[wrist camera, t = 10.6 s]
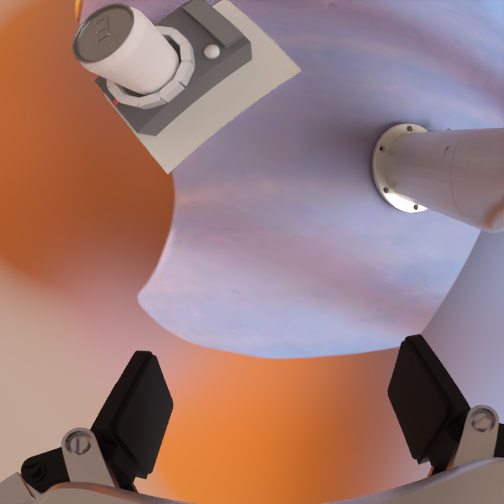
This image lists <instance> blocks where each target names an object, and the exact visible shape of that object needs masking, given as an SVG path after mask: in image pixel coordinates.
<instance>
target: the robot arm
mask: <svg viewBox="0 0 504 504" xmlns="http://www.w3.org/2000/svg"><path fill="white" fill-rule="evenodd" d="M407 128H408V130H407ZM380 147H381V151H380ZM372 173H373V179H374V182H375V184H376V187H377V189H378V191H379V193H380V194H381V196H382V197H383V198H384V199H385V201H386V202H388V203H389V204H390V205H391V206H393V207H395V208H396V209H398V210H401V211H403V212H409V213H417V212H421V211H424V210H426V209H430V210H433V211H436V212H438V213H441V214H444V215H446V216H449V217H451V218H454V219H456V220H459V221H461V222H464V223H466V224H468V225H471V226H473V227H476V228H478V229H481V230H483V231H487V232H501V231H504V128H490V129H464V130H451V129H447V130H446V131H434V132H429V131H428V130H426V129H425V128H423V127H421V126H419V125H416V124H412V123H403V124H398V125H395V126H392V127H390V128H389V129H387V130H386V131H385V132H384V133H383V134H382V135H381V136H380V138H379V139H378V141H377V143H376V145H375V148H374V151H373V156H372ZM384 188H385V190H384V191H383V189H384ZM413 206H414V207H413ZM388 397H389V399H390V401H391V404H392V406H393V409H394V411H395V413H396V416H397V419H398V421H399V424H400V426H401V428H402V431H403V433H404V436H405V439H406V442H407V444H408V447H409V450H410V452H411V455H412V457H413V458H414V459H417V462H418V464H422V463H425V462H427V461H430V463H431V466H432V467H431V469H430V471H429V474H428V476H427V478H425V479H422V480H419V481H416V482H413V483H410V484H407V485H403V486H400V487H397V488H394V489H390V490H387V491H383V492H379V493H375V494H371V495H367V496H362V497H358V498H353V499H348V500H342V501H336V502H329V503H323V504H504V424H501V423H499V418H498V415H497V413H496V411H495V410H494V409H492V408H491V407H489V406H486V405H478V406H475V407H474V408H472V409H471V408H470V406H469V404H468V403H467V401H466V399H465V398H464V396H463V395H462V393H461V392H460V390H459V388H458V387H457V385H456V384H455V383H454V381H453V379H452V378H451V377H450V375H449V373H448V372H447V370H446V369H445V368H444V366H443V365H442V363H441V362H440V360H439V359H438V357H437V356H436V355H435V353H434V352H433V351H432V349H431V348H430V346H429V345H428V343H427V342H426V341H425V339H424V338H423V337H422V336H421V335H420V334H418V335H413V336H408V337H406V338H405V341H402V343H401V346H400V350H399V353H398V357H397V361H396V364H395V368H394V371H393V374H392V378H391V381H390V384H389V387H388ZM172 409H173V400H172V398H171V395H170V392H169V390H168V387H167V384H166V382H165V380H164V377H163V374H162V371H161V368H160V365H159V362H158V360H157V357H156V356H155V355H153V354H152V353H151V352H150V351H136V352H135V353H134V355H133V356H132V358H131V360H130V361H129V363H128V365H127V366H126V368H125V370H124V372H123V373H122V375H121V377H120V378H119V380H118V382H117V383H116V384H115V386H114V388H113V389H112V391H111V393H110V395H109V396H108V398H107V400H106V402H105V404H104V405H103V407H102V409H101V411H100V412H99V414H98V416H97V418H96V420H95V422H94V423H93V425H92V427H91V429H90V430H88V429H86V428H75V429H72V430H70V431H69V432H67V433H66V434H65V436H64V437H63V440H62V442H61V444H62V447H60V448H57V449H54V450H51V451H48V452H45V453H42V454H39V455H36V456H33V457H30V458H28V459H27V460H26V461H24V463H23V465H22V468H21V473H20V474H19V473H18V472H16V473H14V474H13V475H12V476H10V477H8V478H7V479H5V480H4V481H2V482H1V483H0V504H194V503H187V502H181V501H174V500H169V499H164V498H158V497H153V496H148V495H144V494H140V493H138V491H137V489H136V487H135V485H134V483H133V482H134V479H135V477H139V478H143V479H146V478H147V475H148V474H150V473H151V472H152V471H153V468H154V465H155V462H156V459H157V456H158V452H159V449H160V446H161V443H162V440H163V437H164V434H165V431H166V428H167V425H168V421H169V419H170V416H171V413H172Z"/></svg>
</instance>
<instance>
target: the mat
mask: <svg viewBox="0 0 504 504" xmlns="http://www.w3.org/2000/svg"><path fill="white" fill-rule="evenodd" d="M212 7H213V8H215V9H216V10H217V11H218V12H219V13H221V14H222V15H223V16H224V17H225V18H226V19H228V20H229V21H230V22H231V23H232V24H233V25H234V26H235V27H236V28H238V29H239V30H240V31H241V32H242V33H243V35H244V36H245V37H246V38H247V39H248V40H249V41H250V42H251V50H252V60H251V61H249V62H248V63H246V64H245V65H243V66H242V67H241V68H239V69H238V70H236V71H235V72H233V73H232V74H231V75H229V76H228V77H226V78H225V79H224V80H222V81H221V82H220V83H218V84H217V85H216V86H214V87H213V88H212V89H211V90H209V91H208V92H207V93H205V94H204V95H203V96H202V97H200V98H199V99H198V100H197V101H195V102H194V103H193V104H192V105H191V106H189V107H188V108H187V109H186V110H185V111H183V112H182V113H181V114H180V115H179V116H178V117H177V118H175V119H174V120H173V121H172V122H171V123H170V124H169V125H168V126H166V127H165V128H164V129H163V130H162V131H161V132H160V133H159V134H158V135H157V136H151V135H145V134H139V133H137V132H136V131H135V130H134V129H133V127H132V126H131V125H130V124H129V123H128V121H127V120H126V119H125V118H124V116H123V115H122V114H121V113H120V111H119V110H118V109H117V108H116V106H115V105H113V103H112V101H111V100H110V99H109V98H108V97H107V95H106V94H105V95H104V97H105V98H106V99H107V100H108V102H109V103H110V104H111V105H112V106H113V108H114V109H115V110H116V112H117V113H118V114H119V115H120V116H121V118H122V119H123V120H124V122H125V123H126V124H127V125H128V126H129V128H130V129H131V130H132V131H133V133H134V134H135V135H136V136H137V138H138V139H139V140H140V141H141V142H142V144H143V145H144V146H145V147H146V148H147V150H148V151H149V152H150V154H151V155H152V156H153V157H154V158H155V160H156V161H157V162H158V163H159V164H160V166H161V167H162V168H163V169H164V171H165V172H166V173H167V174H169V173H170V172H171V171H172V170H173V169H174V168H175V167H176V166H177V165H179V164H180V163H181V162H182V161H183V160H184V159H185V158H186V157H188V156H189V155H190V154H191V153H192V152H193V151H195V150H196V149H197V148H198V147H199V146H200V145H202V144H203V143H204V142H205V141H206V140H208V139H209V138H210V137H211V136H212V135H214V134H215V133H216V132H217V131H219V130H220V129H221V128H222V127H224V126H225V125H226V124H227V123H229V122H230V121H231V120H233V119H234V118H235V117H236V116H238V115H239V114H240V113H242V112H243V111H244V110H246V109H247V108H248V107H250V106H251V105H253V104H254V103H255V102H257V101H258V100H260V99H261V98H262V97H264V96H265V95H267V94H268V93H269V92H271V91H272V90H274V89H275V88H277V87H278V86H280V85H281V84H283V83H284V82H286V81H287V80H289V79H290V78H292V77H293V76H295V75H296V74H298V73H300V72H301V69H300V68H299V67H298V66H297V65H296V64H295V63H294V62H293V61H292V60H291V59H290V57H289V56H288V55H287V54H286V53H285V52H284V51H283V50H282V49H281V48H280V47H279V46H278V45H277V44H276V43H275V42H274V41H273V40H272V39H271V38H270V37H269V36H268V35H267V34H266V33H265V32H264V31H263V30H261V29H260V28H259V27H258V26H257V25H256V24H255V23H254V22H253V21H252V20H251V19H249V18H248V17H247V16H246V15H245V14H244V13H243V12H241V11H240V10H239V9H238V8H237V7H235V6H234V5H233V4H232V3H231V2H229V1H228V0H221V1H220V2H218V3H216V4H215V5H213V6H212Z"/></svg>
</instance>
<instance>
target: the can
mask: <svg viewBox="0 0 504 504" xmlns="http://www.w3.org/2000/svg"><path fill="white" fill-rule="evenodd" d="M72 49H73V54H74V56H75V58H76V59H77V60H78V61H80V63H81V64H82V66H83V67H84V68H85V69H87V70H88V71H90V72H92V73H94V74H97V75H99V76H101V77H103V78H106V79H108V80H110V81H112V82H114V83H117V84H119V85H121V86H123V87H125V88H128V89H130V90H132V91H134V92H136V93H139V94H145V95H148V94H153V93H157V92H159V91H160V90H161V89H162V88H163V87H164V86H165V85H167V84H168V83H169V82H170V81H171V80H173V79H174V77H175V74H176V72H177V70H178V68H179V64H180V62H179V57H178V54H177V53H176V51H175V50H174V49H173V47H172V46H171V45H170V44H169V43H168V41H167V40H166V39H165V38H164V37H163V35H162V34H161V33H160V32H159V31H158V30H157V28H156V27H155V26H154V25H153V24H152V23H151V22H150V21H149V20H148V18H147V17H146V16H145V15H144V14H143V13H142V12H140V11H139V10H137V9H135V8H132V7H129V6H127V5H125V4H120V3H115V4H110V5H106V6H104V7H102V8H100V9H98V10H96V11H95V12H93V13H92V14H91V15H90V16H89V17H87V18H86V19H85V21H84V22H83V23H82V24H81V26H80V27H79V29H78V30H77V32H76V34H75V37H74V40H73V46H72Z"/></svg>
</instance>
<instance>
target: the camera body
mask: <svg viewBox="0 0 504 504" xmlns="http://www.w3.org/2000/svg"><path fill="white" fill-rule="evenodd" d="M155 27H156V28H157V30H158V31H159V32H160V33H161V34H162V35H163V37H164V38H165V39H166V40H167V41H168V43H169V44H170V45H171V46H172V47H173V49H174V50H175V51H176V53H177V54H178V57H179V62H180V64H179V68H178V70H177V72H176V74H175V77H174V79H173V80H171V81H170V82H169V83H168V84H167V85H165V86H164V87H163V88H162V89H161V90H160V91H159V92H157V93H153V94H148V95H145V94H139V93H136V92H134V91H132V90H130V89H128V88H125V87H123V86H121V85H119V84H117V83H114V82H112V81H110V80H108V79H106V78H103V77H101V76H99V77H98V78H97V79H96V80H95V81H96V83H97V84H98V85H99V87H100V88H101V89H102V90H103V91H104V93H105V94H106V95H107V97H108V98H109V99H110V100H111V101H112V103H113V105H115V106H116V108H117V109H118V110H119V111H120V113H121V114H122V115H123V116H124V118H125V119H126V120H127V121H128V123H129V124H130V125H131V126H132V127H133V129H134V130H135V131H136V132H137V133H139V134H145V135H151V136H157V135H158V134H159V133H160V132H161V131H162V130H163V129H164V128H165V127H166V126H168V125H169V124H170V123H171V122H172V121H173V120H174V119H175V118H177V117H178V116H179V115H180V114H181V113H182V112H183V111H185V110H186V109H187V108H188V107H189V106H191V105H192V104H193V103H194V102H195V101H197V100H198V99H199V98H200V97H202V96H203V95H204V94H205V93H207V92H208V91H209V90H211V89H212V88H213V87H214V86H216V85H217V84H218V83H220V82H221V81H222V80H224V79H225V78H226V77H228V76H229V75H231V74H232V73H233V72H235V71H236V70H238V69H239V68H241V67H242V66H243V65H245V64H246V63H248V62H249V61H251V60H252V50H251V42H250V41H249V40H248V39H247V38H246V37H245V36H244V35H243V33H242V32H241V31H240V30H239V29H238V28H236V27H235V26H234V25H233V24H232V23H231V22H230V21H229V20H228V19H226V18H225V17H224V16H223V15H222V14H221V13H219V12H218V11H217V10H216V9H215V8H213V7H212V6H211V5H210V4H209V3H207V2H206V1H205V0H190V1H188V2H187V3H185V4H184V5H182V6H181V7H179V8H178V9H176V10H175V11H174V12H172V13H171V14H169V15H168V16H167V17H165V18H164V19H163V20H161V21H160V22H159V23H157V24H156V25H155Z"/></svg>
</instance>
